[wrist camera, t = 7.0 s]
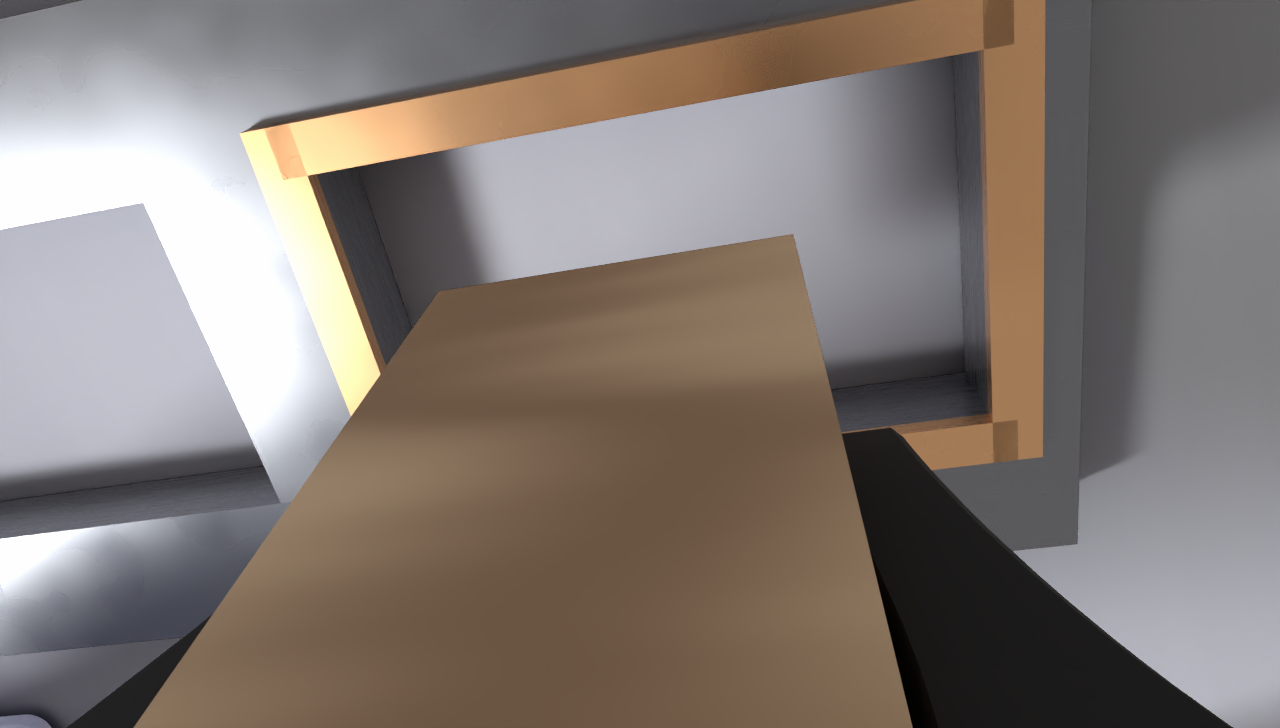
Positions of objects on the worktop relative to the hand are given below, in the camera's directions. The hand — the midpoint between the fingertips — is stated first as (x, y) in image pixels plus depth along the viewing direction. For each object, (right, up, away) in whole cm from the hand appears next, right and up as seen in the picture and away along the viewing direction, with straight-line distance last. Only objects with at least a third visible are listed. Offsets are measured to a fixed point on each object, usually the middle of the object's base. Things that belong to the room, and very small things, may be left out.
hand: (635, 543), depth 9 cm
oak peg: (0, +1, +2) cm, 2 cm away
